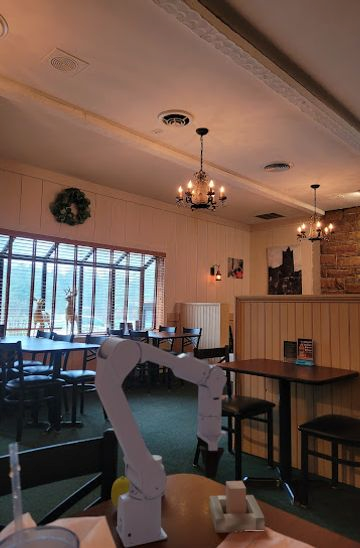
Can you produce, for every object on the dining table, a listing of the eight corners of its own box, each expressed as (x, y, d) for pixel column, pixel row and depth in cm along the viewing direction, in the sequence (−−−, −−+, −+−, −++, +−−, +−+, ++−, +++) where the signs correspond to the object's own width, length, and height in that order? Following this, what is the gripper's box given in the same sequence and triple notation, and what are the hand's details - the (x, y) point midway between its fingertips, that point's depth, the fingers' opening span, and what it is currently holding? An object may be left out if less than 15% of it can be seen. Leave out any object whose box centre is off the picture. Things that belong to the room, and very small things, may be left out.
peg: (246, 523, 96) (245, 488, 96) (229, 524, 95) (229, 488, 96) (242, 514, 100) (242, 480, 100) (225, 515, 99) (225, 481, 100)
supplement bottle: (158, 488, 113) (159, 452, 114) (167, 496, 109) (168, 459, 110) (140, 492, 111) (141, 456, 112) (149, 501, 106) (149, 462, 107)
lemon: (129, 516, 98) (129, 482, 99) (107, 514, 99) (108, 480, 100) (136, 505, 104) (136, 473, 104) (115, 503, 105) (116, 471, 105)
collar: (216, 532, 92) (216, 518, 92) (209, 508, 103) (209, 495, 103) (264, 531, 92) (264, 517, 93) (253, 507, 103) (253, 495, 104)
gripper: (230, 422, 94) (230, 483, 93) (221, 406, 109) (221, 459, 108) (200, 422, 94) (199, 483, 93) (194, 406, 108) (194, 459, 107)
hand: (209, 470), depth 100 cm, fingers open, 7 cm apart
